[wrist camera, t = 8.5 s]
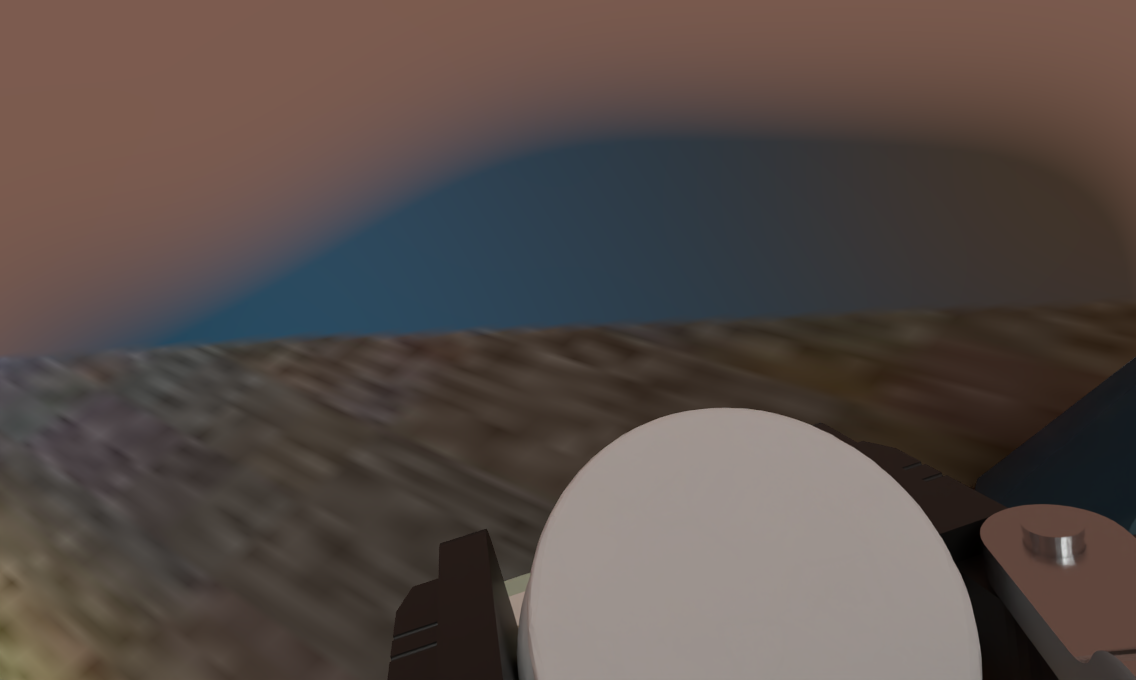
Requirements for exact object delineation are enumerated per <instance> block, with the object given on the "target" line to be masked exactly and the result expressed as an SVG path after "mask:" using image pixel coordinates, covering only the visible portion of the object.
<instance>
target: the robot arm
mask: <svg viewBox="0 0 1136 680" xmlns="http://www.w3.org/2000/svg"><path fill="white" fill-rule="evenodd" d="M812 426H814V427H816V428H818V429H820V430H822V431H825V432H827V433H829V434H832V435H833V436H835V437H836V438H838V439H839V440H841V441H843V442H845V443H847V444H848V445H850V446H852V447H854V448H855V449H857V450H858V451H860V452H861V453H862V454H864V455H865V456H867V457H868V458H870V459H871V460H873V461H874V462H875V463H876V464H877V465H878V466H880V467H881V468H882V469H883V470H884V471H886V472H887V473H888V474H889V475H890V476H891V477H892V478H893V479H894V480H896V481H897V482H898V483H899V484H900V486H901V487H902V488H903V489H904V490H905V491H906V492H907V493H908V494H909V495H910V496H911V497H912V498H913V499H914V500H915V501H916V503H917V504H918V505H919V506H920V507H921V509H922V510H923V511H924V513H925V514H926V516H927V517H928V518H929V520H930V521H931V523H932V524H933V526H934V527H935V529H936V530H937V532H938V533H939V535H940V536H941V538H942V539H943V541H944V543H945V545H946V547H947V549H948V550H949V552H950V554H951V557H952V559H953V561H954V563H955V564H956V566H957V568H958V570H959V572H960V574H961V576H962V579H963V581H964V583H965V586H966V589H967V592H968V595H969V598H970V601H971V605H972V609H973V613H974V618H975V622H976V626H977V630H978V637H979V643H980V650H981V658H982V680H1136V535H1132V534H1131V533H1129V532H1128V531H1127V530H1126V529H1125V528H1123V527H1122V526H1120V525H1119V524H1118V523H1116V522H1115V521H1113V520H1111V519H1109V518H1107V517H1105V516H1102V515H1100V514H1097V513H1094V512H1091V511H1087V510H1084V509H1080V508H1075V507H1069V506H1062V505H1050V504H1033V505H1022V506H1017V507H1012V508H1007V507H1005V506H1003V505H1002V504H1000V503H998V502H996V501H994V500H992V499H990V498H988V497H986V496H985V495H983V494H981V493H979V492H977V491H975V490H973V489H971V488H970V487H968V486H966V485H964V484H962V483H960V482H958V481H956V480H955V479H953V478H951V477H949V476H947V475H946V476H943V475H942V473H941V472H939V471H938V470H936V469H934V468H932V467H930V466H928V465H926V464H924V465H922V464H921V461H919V460H917V459H915V458H913V457H911V456H909V455H907V454H906V453H904V452H902V451H900V450H898V449H896V448H892V447H888V446H883V445H879V444H874V443H870V442H865V441H862V442H859V443H857V442H855V441H854V440H852V439H850V438H848V437H847V436H845V435H843V434H841V433H840V432H838V431H836V430H834V429H832V428H831V427H829V426H827V425H825V424H823V423H818V424H815V425H812ZM393 637H394V641H392V649H391V662H390V664H389V672H388V680H519V677H518V665H517V638H518V626H517V622H516V619H515V616H514V612H513V609H512V606H511V603H510V599H509V596H508V593H507V590H506V587H505V583H504V580H503V577H502V574H501V570H500V567H499V564H498V561H497V558H496V554H495V551H494V548H493V545H492V542H491V539H490V536H489V533H488V531H487V529H484V530H481V531H478V532H475V533H472V534H468V535H465V536H462V537H459V538H456V539H453V540H450V541H446V542H443V543H440V547H439V579H435V580H432V581H429V582H426V583H423V584H420V585H417V586H414V587H412V589H411V590H410V592H409V593H408V595H407V597H406V598H405V600H404V601H403V603H402V604H401V606H400V607H399V609H398V610H397V612H396V618H395V626H394V634H393Z"/></svg>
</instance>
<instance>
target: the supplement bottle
mask: <svg viewBox="0 0 1136 680" xmlns="http://www.w3.org/2000/svg"><path fill="white" fill-rule="evenodd" d="M517 665H518V677H519V680H982V658H981V650H980V643H979V637H978V630H977V626H976V622H975V618H974V613H973V609H972V605H971V601H970V598H969V595H968V592H967V589H966V586H965V583H964V581H963V579H962V576H961V574H960V572H959V570H958V568H957V566H956V564H955V563H954V561H953V559H952V557H951V554H950V552H949V550H948V549H947V547H946V545H945V543H944V541H943V539H942V538H941V536H940V535H939V533H938V532H937V530H936V529H935V527H934V526H933V524H932V523H931V521H930V520H929V518H928V517H927V516H926V514H925V513H924V511H923V510H922V509H921V507H920V506H919V505H918V504H917V503H916V501H915V500H914V499H913V498H912V497H911V496H910V495H909V494H908V493H907V492H906V491H905V490H904V489H903V488H902V487H901V486H900V484H899V483H898V482H897V481H896V480H894V479H893V478H892V477H891V476H890V475H889V474H888V473H887V472H886V471H884V470H883V469H882V468H881V467H880V466H878V465H877V464H876V463H875V462H874V461H873V460H871V459H870V458H868V457H867V456H865V455H864V454H862V453H861V452H860V451H858V450H857V449H855V448H854V447H852V446H850V445H848V444H847V443H845V442H843V441H841V440H839V439H838V438H836V437H835V436H833V435H832V434H829V433H827V432H825V431H822V430H820V429H818V428H816V427H814V426H812V425H809V424H807V423H804V422H801V421H799V420H796V419H792V418H789V417H786V416H782V415H778V414H774V413H770V412H765V411H760V410H752V409H742V408H709V409H700V410H691V411H685V412H680V413H676V414H671V415H668V416H664V417H661V418H659V419H656V420H653V421H651V422H648V423H646V424H644V425H641V426H639V427H637V428H635V429H633V430H631V431H629V432H628V433H626V434H624V435H622V436H621V437H619V438H618V439H616V440H615V441H613V442H612V443H611V444H609V445H608V446H606V447H605V448H604V449H602V450H601V451H600V452H599V453H598V454H596V455H595V456H594V457H593V458H592V459H591V460H590V461H589V462H588V463H587V464H586V465H585V466H584V467H583V468H582V469H581V470H580V471H579V472H578V473H577V475H576V476H575V477H574V478H573V480H572V481H571V482H570V484H569V485H568V486H567V488H566V489H565V490H564V491H563V493H562V494H561V496H560V498H559V500H558V501H557V503H556V505H555V507H554V508H553V510H552V512H551V513H550V515H549V518H548V520H547V522H546V524H545V527H544V529H543V531H542V534H541V536H540V539H539V542H538V545H537V549H536V553H535V557H534V560H533V564H532V568H531V574H530V578H529V581H528V584H527V587H526V591H525V594H524V598H523V602H522V606H521V612H520V618H519V628H518V638H517Z"/></svg>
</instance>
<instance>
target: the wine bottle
mask: <svg viewBox="0 0 1136 680" xmlns="http://www.w3.org/2000/svg"><path fill="white" fill-rule="evenodd" d="M975 491H977V492H979V493H981V494H983V495H985V496H986V497H988V498H990V499H992V500H994V501H996V502H998V503H1000V504H1002V505H1003V506H1005V507H1007V508H1012V507H1017V506H1022V505H1033V504H1050V505H1062V506H1069V507H1075V508H1080V509H1084V510H1087V511H1091V512H1094V513H1097V514H1100V515H1102V516H1105V517H1107V518H1109V519H1111V520H1113V521H1115V522H1116V523H1118V524H1119V525H1120V526H1122V527H1123V528H1125V529H1126V530H1127V531H1128V532H1129V533H1131V534H1132V535H1136V357H1135V358H1134V359H1132V360H1131V361H1130V362H1128V363H1127V364H1126V365H1125V366H1123V367H1122V368H1121V369H1119V370H1118V371H1117V372H1115V373H1114V374H1113V375H1112V376H1110V377H1109V378H1108V379H1106V380H1105V381H1104V382H1103V383H1101V384H1100V385H1099V386H1097V387H1096V388H1095V389H1093V390H1092V391H1091V392H1090V393H1088V394H1087V395H1086V396H1084V397H1083V398H1082V399H1080V400H1079V401H1078V402H1077V403H1075V404H1074V405H1073V406H1071V407H1070V408H1069V409H1068V410H1066V411H1065V412H1064V413H1062V414H1061V415H1060V416H1058V417H1057V418H1056V419H1055V420H1053V421H1052V422H1051V423H1049V424H1048V425H1047V426H1045V427H1044V428H1043V429H1042V430H1040V431H1039V432H1038V433H1036V434H1035V435H1034V436H1033V437H1031V438H1030V439H1029V440H1027V441H1026V442H1025V443H1023V444H1022V445H1021V446H1020V447H1018V448H1017V449H1016V450H1014V451H1013V452H1012V453H1010V454H1009V455H1008V456H1007V457H1005V458H1004V459H1003V460H1001V461H1000V462H999V463H998V464H996V465H995V466H994V467H992V468H991V469H990V470H988V471H987V472H986V473H985V474H983V475H982V476H981V477H979V478H978V479H977V483H976V487H975Z"/></svg>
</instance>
